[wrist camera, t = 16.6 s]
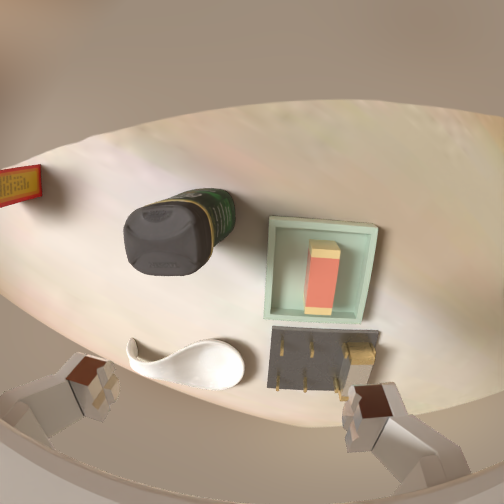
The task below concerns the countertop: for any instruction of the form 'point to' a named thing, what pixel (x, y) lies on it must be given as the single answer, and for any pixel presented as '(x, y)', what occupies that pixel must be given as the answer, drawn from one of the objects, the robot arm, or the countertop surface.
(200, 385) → the spoon rest
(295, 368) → the fuse holder
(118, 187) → the countertop surface
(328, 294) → the fuse
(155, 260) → the coffee jar
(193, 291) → the countertop surface
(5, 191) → the baking soda box
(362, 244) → the tray
